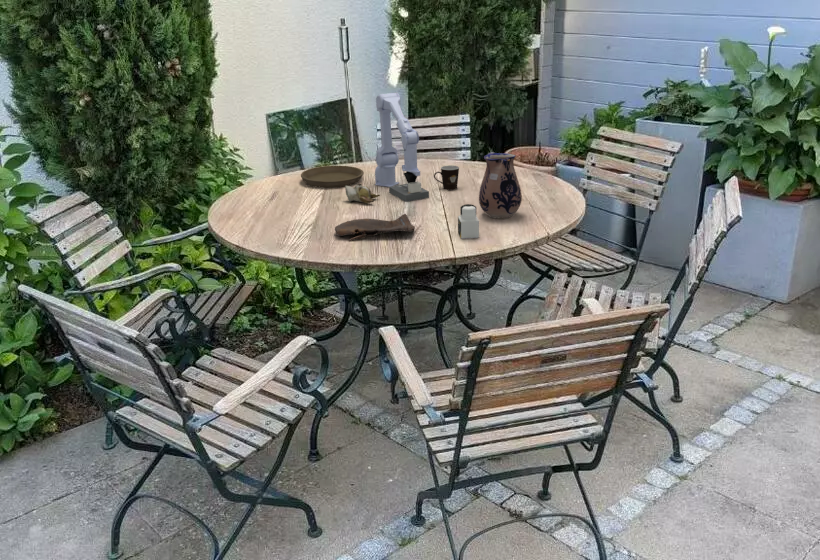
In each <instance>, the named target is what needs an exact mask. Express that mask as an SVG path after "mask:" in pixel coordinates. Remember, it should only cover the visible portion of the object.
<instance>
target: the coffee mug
mask: <svg viewBox="0 0 820 560" xmlns="http://www.w3.org/2000/svg"><path fill="white" fill-rule="evenodd" d="M459 172H460V166H457V165H448V164H447V165H443V166H441V167H440V171H436V172H435V173H434V174H433V178H434V180H436V181H437V182H438V183H440V184H442V187H443V188H442V189H443V190H445V191H455V190H457V189H458V182H459ZM437 174H440V175H441V179H442V180H441V181H440V180H439V179H438V178H437V177H436V175H437Z"/></svg>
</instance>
